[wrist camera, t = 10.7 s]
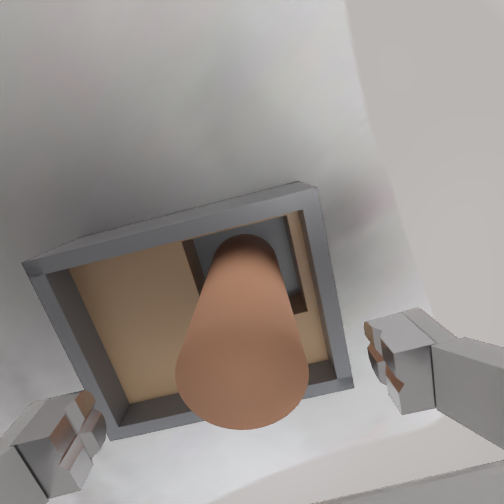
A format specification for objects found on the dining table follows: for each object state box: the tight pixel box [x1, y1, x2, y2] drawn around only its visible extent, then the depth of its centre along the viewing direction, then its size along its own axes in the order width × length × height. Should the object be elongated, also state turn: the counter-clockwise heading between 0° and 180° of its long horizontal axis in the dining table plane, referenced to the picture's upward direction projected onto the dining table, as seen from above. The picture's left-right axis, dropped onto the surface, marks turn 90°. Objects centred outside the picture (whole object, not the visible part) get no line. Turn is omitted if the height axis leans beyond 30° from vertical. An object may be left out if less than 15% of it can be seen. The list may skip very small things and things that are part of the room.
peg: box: [175, 234, 309, 430], centre depth 14 cm, size 4×4×10 cm
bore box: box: [22, 181, 354, 441], centre depth 17 cm, size 14×11×5 cm
